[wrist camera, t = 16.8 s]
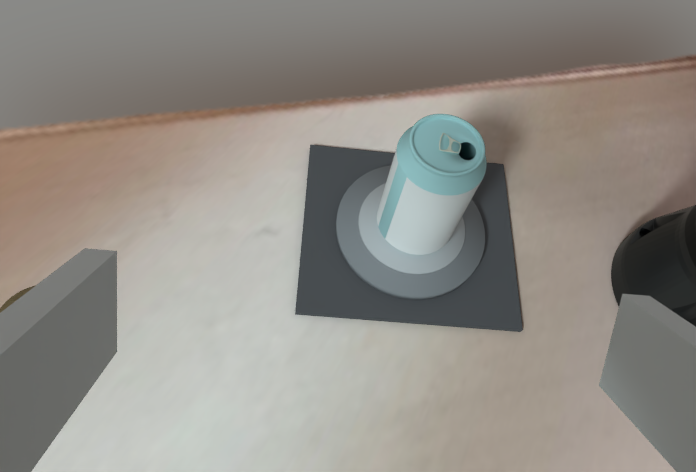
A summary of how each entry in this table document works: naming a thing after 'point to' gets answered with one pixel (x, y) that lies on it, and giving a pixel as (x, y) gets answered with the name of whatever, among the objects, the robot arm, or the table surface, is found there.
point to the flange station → (397, 266)
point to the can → (430, 183)
